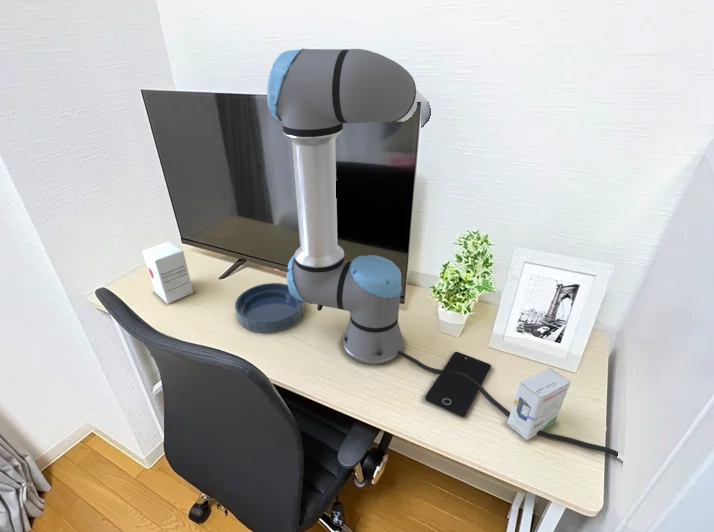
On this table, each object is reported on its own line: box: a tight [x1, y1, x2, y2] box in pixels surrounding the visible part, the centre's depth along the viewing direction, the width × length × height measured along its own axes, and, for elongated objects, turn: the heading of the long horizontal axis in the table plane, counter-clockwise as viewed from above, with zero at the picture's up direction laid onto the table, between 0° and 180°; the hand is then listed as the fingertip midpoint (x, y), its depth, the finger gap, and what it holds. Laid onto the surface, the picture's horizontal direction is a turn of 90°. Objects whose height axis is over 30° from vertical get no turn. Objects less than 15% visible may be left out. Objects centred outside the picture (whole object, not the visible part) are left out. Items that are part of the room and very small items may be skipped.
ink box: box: [506, 367, 572, 441], centre depth 81 cm, size 9×5×12 cm, turn 118°
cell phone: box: [424, 351, 492, 418], centre depth 94 cm, size 9×18×1 cm, turn 144°
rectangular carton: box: [142, 241, 194, 305], centre depth 125 cm, size 9×9×15 cm
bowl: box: [234, 282, 306, 334], centre depth 118 cm, size 19×19×4 cm
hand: (343, 231), depth 122 cm, fingers open, 13 cm apart
